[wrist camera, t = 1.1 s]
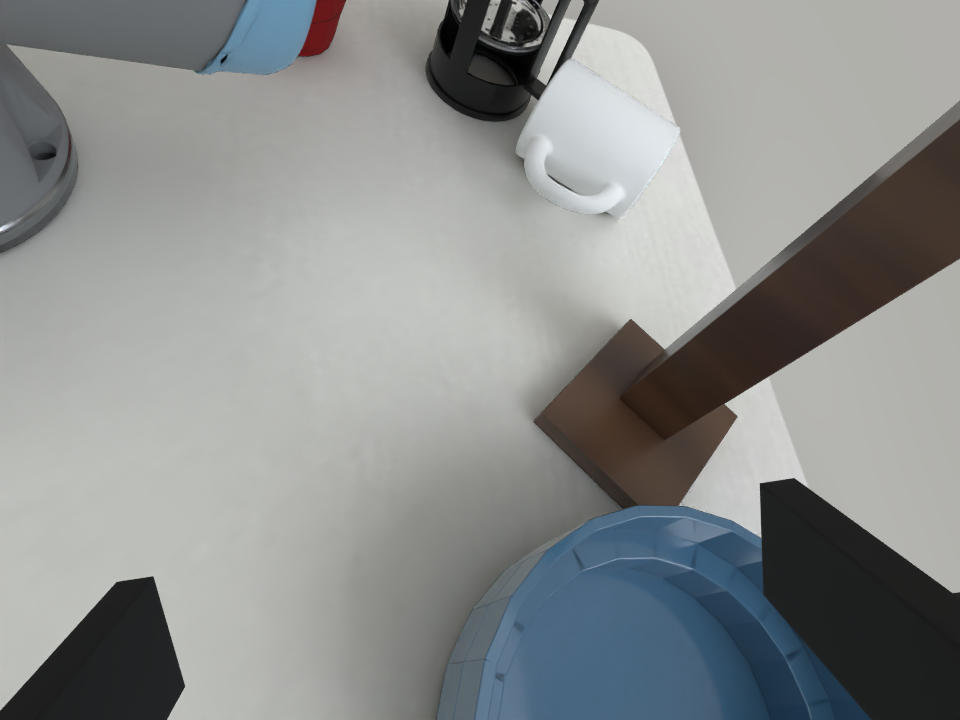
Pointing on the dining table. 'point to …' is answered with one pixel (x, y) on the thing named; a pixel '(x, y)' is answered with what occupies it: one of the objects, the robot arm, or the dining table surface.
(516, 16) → the french press
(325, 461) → the dining table surface
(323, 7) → the plastic cup
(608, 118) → the mug
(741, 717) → the bowl
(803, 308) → the stand
